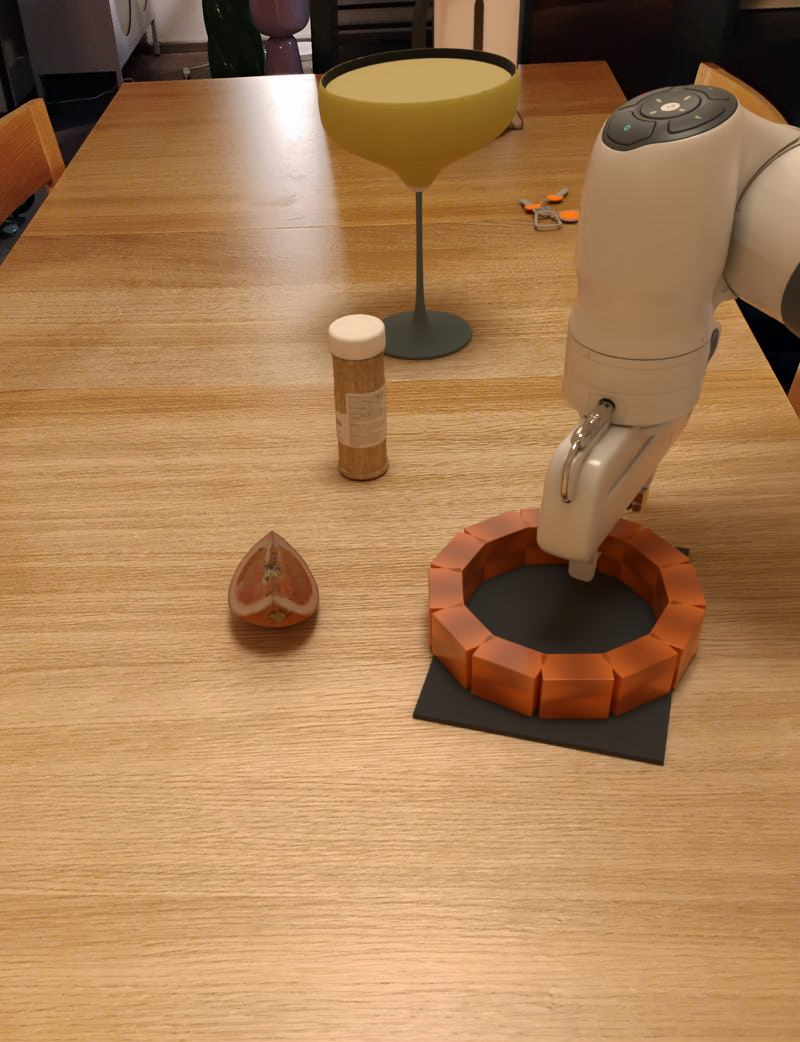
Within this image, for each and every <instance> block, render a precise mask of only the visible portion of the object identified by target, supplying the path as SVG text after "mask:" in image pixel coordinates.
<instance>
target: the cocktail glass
mask: <svg viewBox="0 0 800 1042" xmlns="http://www.w3.org/2000/svg"><path fill="white" fill-rule="evenodd" d="M519 72H520V71H519V68H518V69H517V67H516V65H515V64H514V63H513V62H512V61H511V60H509V59H507V58H505V57H503V56H500V55H497V54H494V53H489V52H485V51H479V50H471V49H459V48H433V47H426V48H422V49H412V48H411V49H399V50H392V51H386V52H380V53H375V54H370V55H366V56H361V57H358V58H353V59H351V60H348V61H346V62H343V63H340V64H338V65H336V66H334V67H332V68H330V69H329V70H327V71H326V72H325V73H324V74H323V75H322V76H321V78H320V80H319V83H318V90H317V102H318V103H317V105H318V112H319V113H318V114H319V118H320V122H321V126H322V128H323V129H324V131H325V133H326V134H327V135H328V136H329V137H330V138H331V140H333V141H334V142H335V143H336V144H338V145H339V146H340V147H342V148H343V149H344V150H345V151H347V152H349V153H351V154H353V155H355V156H357V157H359V158H362V159H364V160H366V161H368V162H371V163H373V164H375V165H376V164H377V165H379V166H382V167H385V168H386V169H389V170H390V171H392V172H394V173H395V174H396V175H397V176H398V177H399V179H400V180H401V181H402V183H403V184H404V185H405V186H406V188H407V189H408V190H410V191H411V192H414V193H415V231H416V232H415V236H416V237H415V246H416V248H415V249H416V250H415V252H416V253H415V254H416V255H415V266H416V267H415V302H414V310H407V311H402V312H398V313H397V312H396V313H394V314H391V315H388V316H386V317H384V318H382V319H380V320H381V321H382V322H383V323H384V326H385V337H386V346H385V348H384V349H385V352H384V355H387V356H390V357H393V358H398V359H405V360H428V359H429V360H430V359H436V358H440V357H441V358H442V357H445V356H448V355H450V354H453V353H455V352H458V351H459V350H461V349H462V348H464V347H465V346H466V345H467V344H468V343H469V342H470V340H472V335H473V330H472V327H471V325H470V323H469V322H468V321H467V320H465V319H464V318H463V317H461V316H459V315H457V314H454V313H451V312H447V311H443V310H442V311H441V310H436V309H435V310H434V309H427V308H426V301H425V289H424V288H425V287H424V251H423V250H424V248H423V246H424V244H423V242H424V241H423V192H425V191H427V190H428V189H429V188H430V187H431V186H432V184H433V183H434V182H435V181H436V179H437V177H438V176H439V175H440V173H441V172H442V171H443V170H444V169H446V168H447V167H448V166H450V165H452V164H453V163H455V162H458V161H460V160H463V159H464V158H466V157H468V156H470V155H472V154H474V153H476V152H477V151H479V150H480V149H482V148H484V147H486V146H487V145H489V144H491V143H492V142H493V141H494V140H495V139H497V138H498V137H499V136H500V135H501V134H502V133H503V132H504V131H505V130H506V129H508V127H509V125H511V124H510V123H511V121H512V122H513V120H514V118H515V117H516V114H517V112H516V111H517V110H518V107H519V100H520V92H521V91H520V90H521V89H520V87H521V81H520V73H519Z"/></svg>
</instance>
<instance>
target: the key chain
mask: <svg viewBox="0 0 800 1042" xmlns="http://www.w3.org/2000/svg"><path fill="white" fill-rule="evenodd" d="M568 192H570V188H567V187H563V188H562V189H561V190H559V191H558V192H557V193H555V194H548V195H547V196H546V199H544V200H542V201H540V203H534V202H533V203H532V202H530V200H528V199H527V198H520V199H519V200H518V202H519V203H520V204H521V205H524V209H525V210H526V211H532V212H533V214H534V221H533V222H534V226H535V228H540V229H541V228H542V229H548V228H549V229H551V228H556V227H557V228H558V227H562V226H563V222H568V223H572V222H578V217H579V210H572V209H571V210H563V211H560V212H559V211H556V210H551V206H548V205H543V204H545V203H549V202H559V201H562V200H563V199H564V195H567V193H568ZM542 205H543V206H542ZM540 216H541V217H548V216H550V217H551V219H556V220H557V222H558V223H554V224H539V222H538V221H539V220H538V218H539V217H540Z"/></svg>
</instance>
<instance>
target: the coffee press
mask: <svg viewBox="0 0 800 1042" xmlns="http://www.w3.org/2000/svg"><path fill="white" fill-rule="evenodd" d="M431 4H432V48H459V49H471V50H479V51H485V52H489V53H494V54H497V55H500V56H503V57H505V58H507V59H509V60H511V61H512V62H513V63H514V64H515V65H516V67H517V69H518V70H519V61H520V42H521V40H520V39H521V21H522V20H521V18H522V0H416V2H415V5H414V7H413V14H412V23H411V49H422V48H427V45H426V44H427V37H426V36H427V17H428V16H427V15H428V12H429V9H430V6H431ZM516 114H517V115H518V118H519V119H520V120H521V123H520V124H519V125H516V124H515V123H513V120H512V121H511V123H510V124H509V125H511V126H512V127H513V128H514V130H520V129H522V128H523V126H524V124H525V123H524V120H523V119H524V118H523V117H522V115H521V114H520V111H519V110H518V109H517V111H516Z"/></svg>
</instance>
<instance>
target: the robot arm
mask: <svg viewBox="0 0 800 1042" xmlns="http://www.w3.org/2000/svg"><path fill="white" fill-rule="evenodd" d="M578 211H579V217H578V221H577V227H576V236H575V246H574V268H575V272H576V277H577V293H576V297H575V301H574V303H573V305H572V308H571V310H570V313H569V317H568V322H567V331H566V332H567V334H566V343H565V344H566V345H565V355H564V365H563V374H562V384H561V385H562V386H561V388H562V389H561V390H562V391H561V392H562V395H563V397H564V399H565V401H566V402H567V404H569V406H570V407H572V409H574V410H575V411H577V412H578V414H579V418H580V419H579V421H578V422H577V423H576V424H575V425H574V426H573V427H572V429H570V431H569V432H568V433H567V435H565V437H564V438H563V439H562V440H561V441H560V443H559V444H558V445H557V447H556V448H555V450H554V452H553V454H552V456H551V458H550V460H549V464H548V466H547V471H546V474H545V478H544V484H543V489H542V494H541V495H542V496H541V502H540V507H539V508H540V514H539V521H538V529H537V543H538V545H539V547H540V548H541V549H542V550H543V551H544V552H546V553H548V554H551V555H554V556H557V557H560V558H563V559H567V560H570V561H569V570H568V572H569V574H570V575H571V576H572V577H573V578H576V579H580V580H583V581H586V582H589V581H591V580H592V578H593V577H594V576H595V574H596V573H597V571H598V570H599V568H600V561H601V555H602V553H601V552H598V551H597V549H598V548H599V546H600V545H601V544H602V542H603V541H604V539H605V538H606V537H607V535H608V534H609V533H610V531H611V530H612V528H613V527H614V526H615V524H616V523H617V521H618V520H619V519H620V518H622V516H623V514H624V513H625V512H626V511H628V510H630V511H631V512H633V513H639V512H641V510H642V509H643V507H644V506H645V505H646V504H647V502H648V500H649V496H650V490H651V485H652V483H653V480H654V478H655V475H656V472H657V470H658V468H659V465H660V464H661V462H662V460H663V459H664V458H665V456H666V455H667V454H668V452H669V451H670V450H671V448H672V447H673V446H674V444H675V443H676V441H677V440H678V438H679V437H680V436H681V434H682V433H683V432H684V430H685V429H686V427H687V425H688V423H689V421H690V418H691V416H692V413H693V411H694V409H695V408H696V406H697V405H698V403H699V401H700V397H701V393H702V387H703V384H704V383H703V382H704V381H705V377H706V373H707V368H708V365H709V364H710V363H709V362H710V361H711V359H712V358H713V356H714V354H715V353H716V350H717V349H718V347H719V344H720V343H719V342H720V339H721V334H722V323H721V322H720V321H717V320H714V315H715V312H716V309H717V308H718V307H719V306H720V305H721V304H722V303H724V302H728V301H732V300H737V299H738V298H739V299H740V300H742V301H743V302H745V303H747V304H749V305H751V306H752V307H754V308H756V309H757V310H759V311H760V312H762V313H764V314H766V315H767V316H769V317H771V318H773V319H775V320H776V321H778V322H779V323H781V324H783V325H784V326H785V327H786V329H788V331H789V332H790V333H792V334H793V335H795V336H796V337H798V339H800V127H797V126H794V125H791V124H785V123H779V122H774V121H771V120H769V119H766V118H764V117H762V116H760V115H758V114H757V113H754V112H753V111H750V110H749V109H747V108H746V107H744V106H743V105H742V104H741V102H740V101H739V98H738V97H737V96H736V95H734V94H733V93H732V92H730V91H728V90H727V89H724V88H722V87H718V86H713V85H706V84H705V85H704V84H688V85H677V86H665V87H660V88H657V89H654V90H650V91H648V92H644V93H642V94H639V95H637V96H635V97H633V98H631V99H630V100H628V101H626V102H625V103H623V104H622V105H620V106H618V107H617V108H616V109H615V110H613V111H612V112H611V113H610V115H609V116H608V117H607V118H606V119H605V121H604V123H603V125H602V126H601V128H600V129H599V132H598V134H597V136H596V140H595V141H594V144H593V146H592V150H591V153H590V157H589V159H588V163H587V167H586V170H585V176H584V181H583V185H582V191H581V197H580V204H579V210H578Z"/></svg>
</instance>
